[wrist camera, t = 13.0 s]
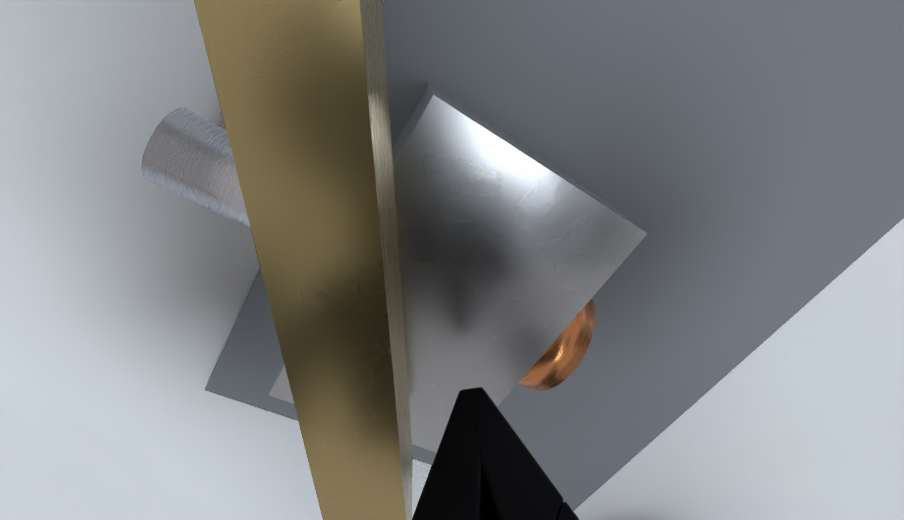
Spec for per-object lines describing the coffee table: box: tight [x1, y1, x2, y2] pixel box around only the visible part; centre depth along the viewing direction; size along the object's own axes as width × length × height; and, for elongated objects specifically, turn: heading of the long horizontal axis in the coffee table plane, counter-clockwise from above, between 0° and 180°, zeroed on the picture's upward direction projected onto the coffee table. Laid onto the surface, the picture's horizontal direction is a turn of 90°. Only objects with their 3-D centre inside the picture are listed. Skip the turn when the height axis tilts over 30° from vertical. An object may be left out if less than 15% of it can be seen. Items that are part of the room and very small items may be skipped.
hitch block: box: [269, 82, 648, 453], centre depth 12 cm, size 6×9×4 cm, turn 148°
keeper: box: [194, 0, 412, 520], centre depth 8 cm, size 15×2×9 cm, turn 0°
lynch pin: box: [142, 108, 595, 391], centre depth 12 cm, size 12×4×4 cm, turn 58°
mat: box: [205, 0, 904, 511], centre depth 15 cm, size 20×24×1 cm
